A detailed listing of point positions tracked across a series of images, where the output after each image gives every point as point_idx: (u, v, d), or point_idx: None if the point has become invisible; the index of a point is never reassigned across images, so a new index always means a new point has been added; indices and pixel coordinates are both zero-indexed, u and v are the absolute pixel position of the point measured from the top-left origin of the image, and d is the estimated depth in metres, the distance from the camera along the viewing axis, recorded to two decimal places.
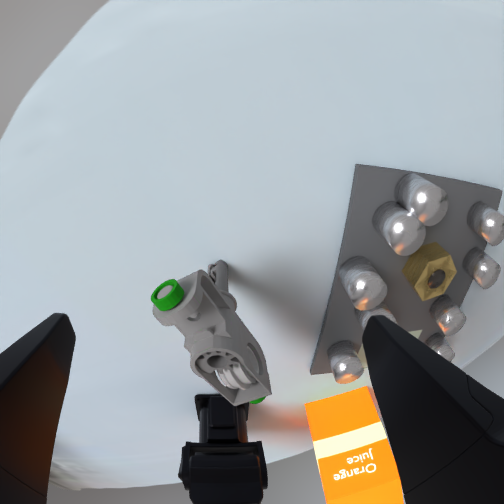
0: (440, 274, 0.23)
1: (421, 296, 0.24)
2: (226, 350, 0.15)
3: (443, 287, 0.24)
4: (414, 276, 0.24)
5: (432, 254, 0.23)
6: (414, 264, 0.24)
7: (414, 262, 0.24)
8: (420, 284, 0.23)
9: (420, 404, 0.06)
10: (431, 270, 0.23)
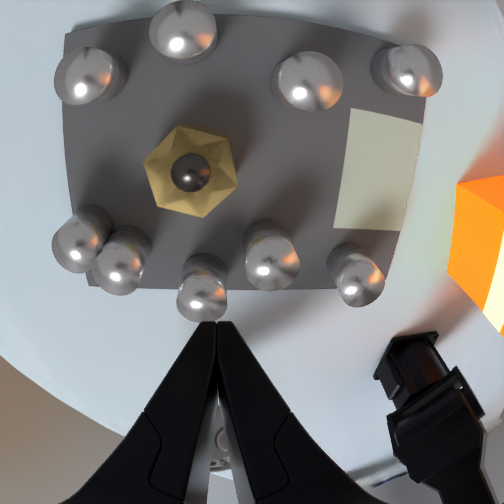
0: (180, 169, 0.14)
1: (226, 193, 0.15)
2: None
3: (211, 145, 0.14)
4: None
5: None
6: None
7: None
8: (199, 206, 0.16)
9: (230, 433, 0.05)
10: (172, 193, 0.15)
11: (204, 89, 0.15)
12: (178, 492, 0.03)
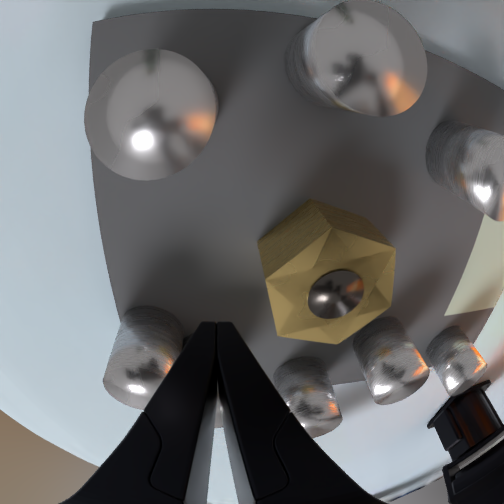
0: (323, 292, 0.10)
1: (374, 315, 0.10)
2: None
3: (373, 258, 0.09)
4: None
5: None
6: None
7: None
8: (337, 332, 0.11)
9: (230, 433, 0.05)
10: (304, 320, 0.10)
11: (345, 151, 0.10)
12: (178, 492, 0.03)
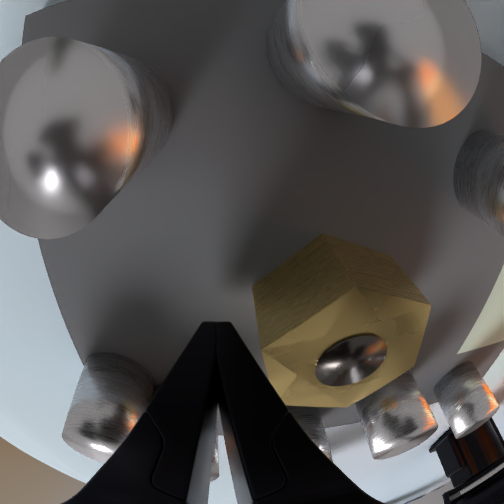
0: (336, 360, 0.07)
1: (393, 377, 0.08)
2: None
3: (403, 318, 0.07)
4: None
5: None
6: None
7: None
8: (348, 396, 0.08)
9: (228, 433, 0.05)
10: (309, 389, 0.08)
11: (351, 169, 0.07)
12: (180, 492, 0.03)
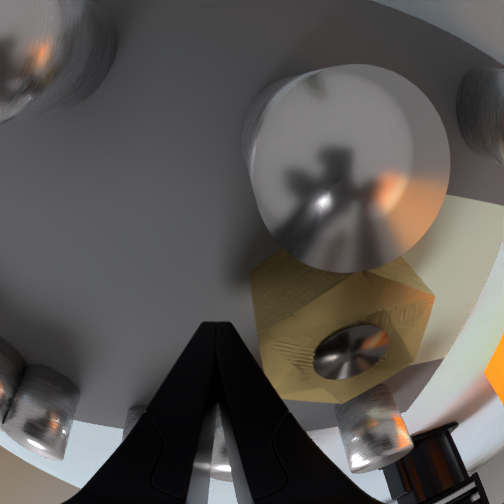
0: (335, 350, 0.07)
1: (392, 373, 0.08)
2: None
3: (406, 309, 0.06)
4: None
5: None
6: None
7: None
8: (344, 392, 0.08)
9: (228, 433, 0.05)
10: (305, 381, 0.07)
11: (96, 162, 0.07)
12: (179, 492, 0.03)
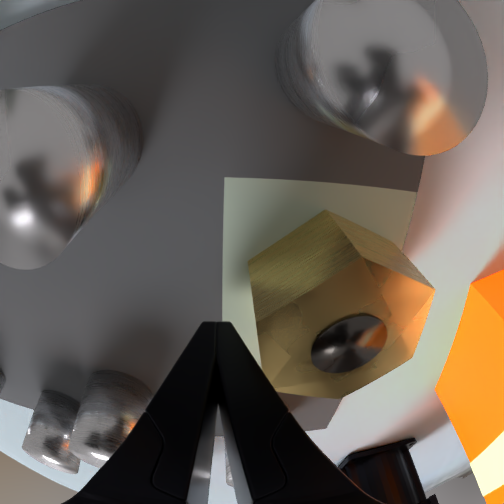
0: (334, 342, 0.07)
1: (390, 368, 0.08)
2: None
3: (406, 301, 0.06)
4: None
5: None
6: None
7: None
8: (341, 386, 0.08)
9: (228, 433, 0.05)
10: (302, 374, 0.07)
11: None
12: (180, 492, 0.03)
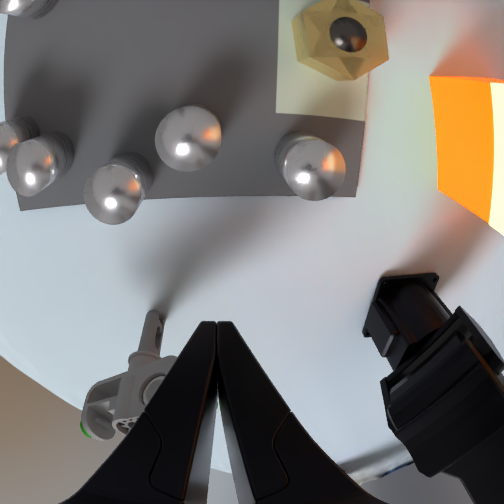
0: (340, 27, 0.11)
1: (378, 62, 0.12)
2: (113, 424, 0.14)
3: (369, 17, 0.11)
4: (339, 74, 0.13)
5: (302, 41, 0.12)
6: (321, 68, 0.13)
7: (318, 67, 0.13)
8: (353, 67, 0.12)
9: (230, 433, 0.05)
10: (328, 48, 0.12)
11: None
12: (178, 492, 0.03)
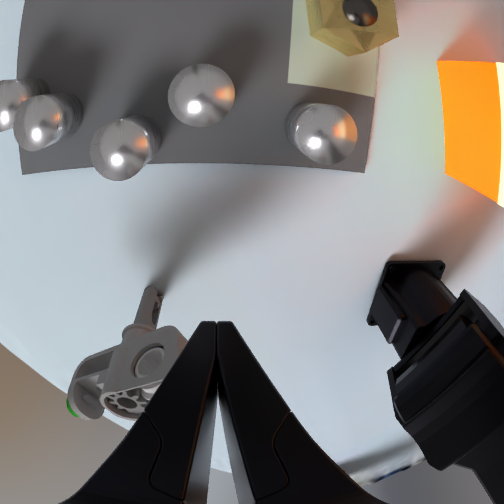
0: (352, 3, 0.11)
1: (388, 38, 0.12)
2: (101, 399, 0.13)
3: None
4: (350, 47, 0.12)
5: (316, 14, 0.12)
6: (333, 42, 0.13)
7: (330, 41, 0.13)
8: (364, 40, 0.12)
9: (229, 433, 0.05)
10: (341, 21, 0.11)
11: None
12: (178, 492, 0.03)
